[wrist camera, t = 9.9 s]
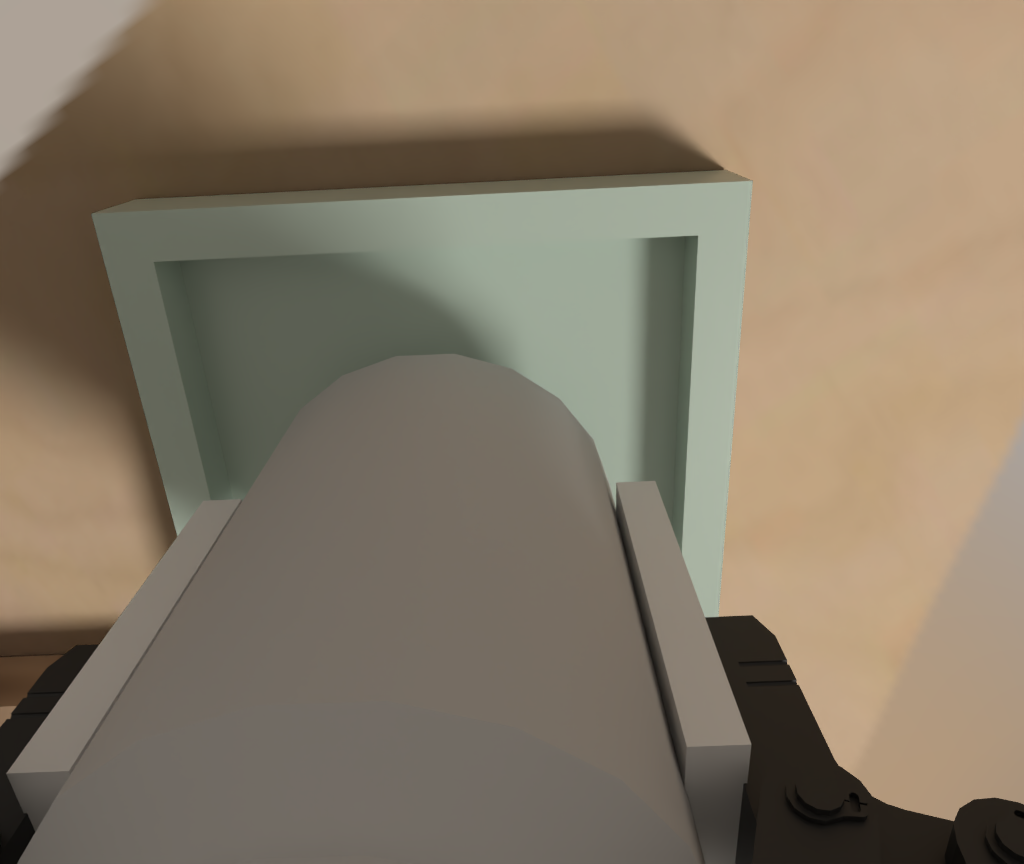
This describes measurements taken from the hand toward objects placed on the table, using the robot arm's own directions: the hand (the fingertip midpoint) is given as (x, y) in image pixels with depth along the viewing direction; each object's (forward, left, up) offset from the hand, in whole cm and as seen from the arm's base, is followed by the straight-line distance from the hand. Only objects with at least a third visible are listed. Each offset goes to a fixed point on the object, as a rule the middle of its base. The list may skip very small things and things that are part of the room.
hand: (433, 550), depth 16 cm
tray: (0, 0, -5) cm, 5 cm away
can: (0, 0, -3) cm, 3 cm away
